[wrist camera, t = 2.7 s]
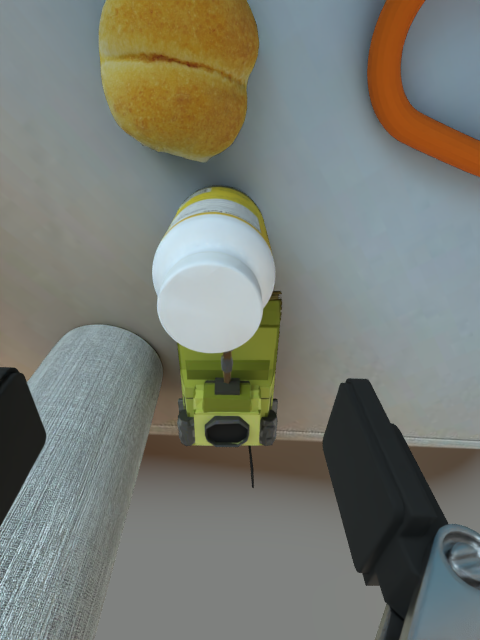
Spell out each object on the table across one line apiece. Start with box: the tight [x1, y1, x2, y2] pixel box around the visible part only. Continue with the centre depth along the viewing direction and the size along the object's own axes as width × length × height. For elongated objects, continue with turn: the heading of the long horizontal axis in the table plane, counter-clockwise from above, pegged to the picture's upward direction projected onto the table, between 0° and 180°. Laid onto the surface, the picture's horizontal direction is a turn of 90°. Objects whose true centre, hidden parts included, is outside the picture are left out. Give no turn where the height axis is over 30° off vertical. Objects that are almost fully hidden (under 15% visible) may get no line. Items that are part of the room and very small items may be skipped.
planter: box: [0, 324, 163, 640], centre depth 20 cm, size 10×10×27 cm
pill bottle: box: [152, 185, 275, 353], centre depth 19 cm, size 6×6×12 cm
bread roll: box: [99, 0, 259, 162], centre depth 17 cm, size 8×9×4 cm
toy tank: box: [177, 291, 282, 488], centre depth 26 cm, size 8×15×10 cm, turn 179°
